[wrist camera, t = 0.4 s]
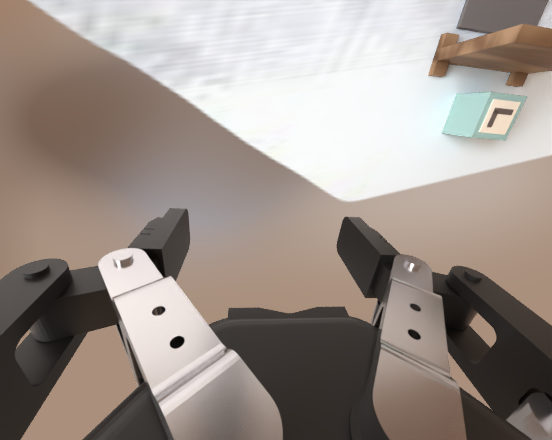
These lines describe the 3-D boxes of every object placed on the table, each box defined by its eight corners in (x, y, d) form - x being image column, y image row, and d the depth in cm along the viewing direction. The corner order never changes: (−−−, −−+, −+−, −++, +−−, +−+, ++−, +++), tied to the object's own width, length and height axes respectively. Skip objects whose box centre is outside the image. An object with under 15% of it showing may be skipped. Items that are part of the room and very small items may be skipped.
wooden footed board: (441, 34, 33) (532, 1, 23) (533, 49, 35) (656, 25, 25) (428, 75, 35) (506, 61, 25) (515, 86, 38) (622, 78, 27)
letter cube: (456, 94, 37) (493, 91, 32) (488, 97, 38) (530, 96, 32) (441, 133, 40) (473, 137, 34) (471, 135, 41) (507, 140, 35)
